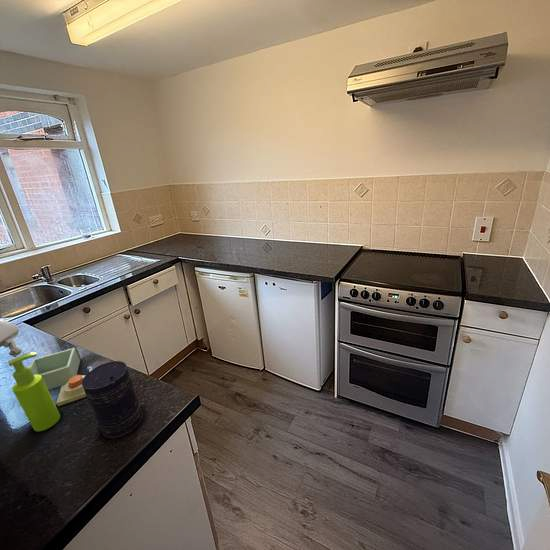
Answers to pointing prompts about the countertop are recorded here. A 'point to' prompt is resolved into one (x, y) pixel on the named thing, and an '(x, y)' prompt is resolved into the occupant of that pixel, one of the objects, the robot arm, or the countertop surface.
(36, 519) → the countertop surface
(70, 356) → the box
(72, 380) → the button
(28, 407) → the soap dispenser
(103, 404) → the storage jar
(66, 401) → the control box
